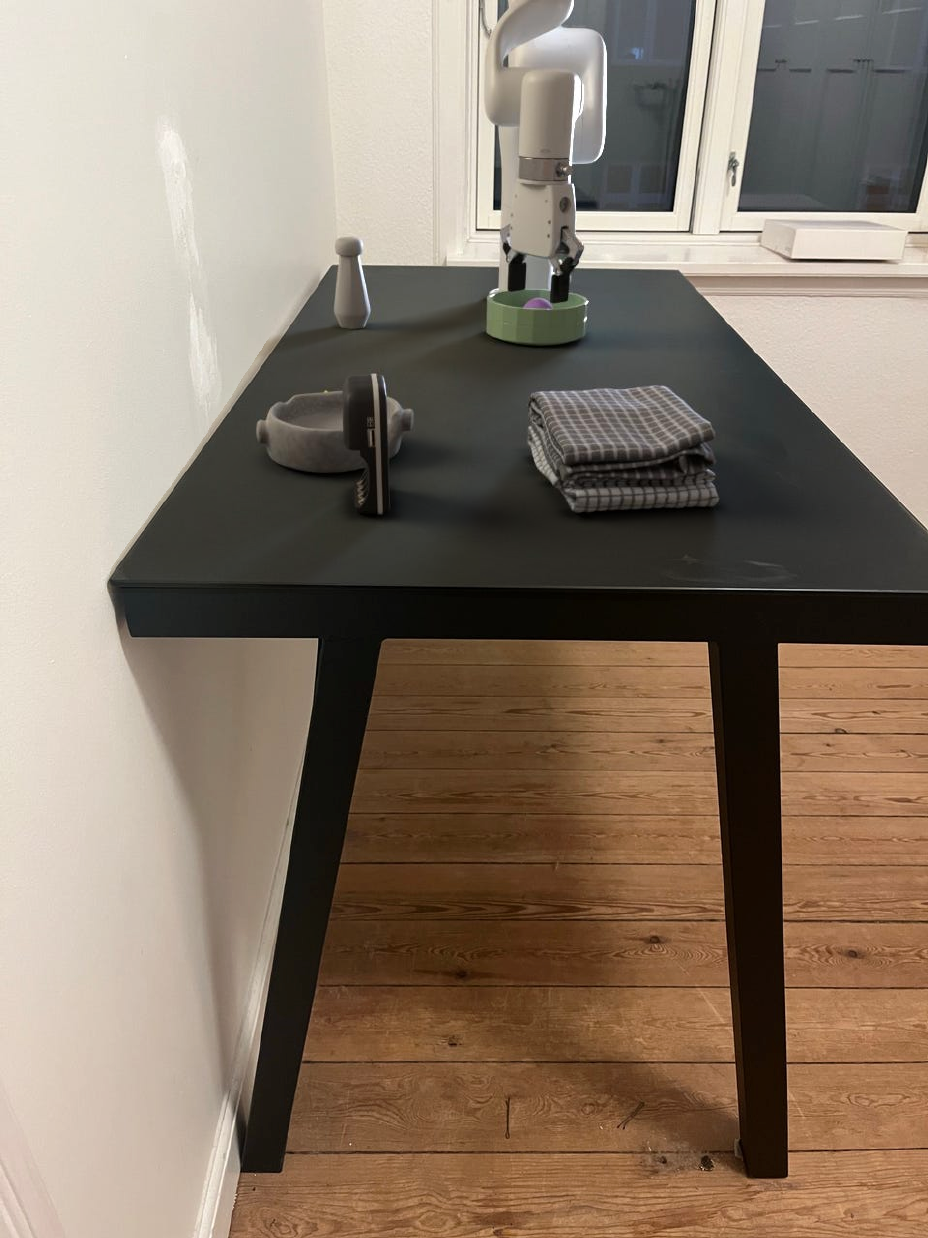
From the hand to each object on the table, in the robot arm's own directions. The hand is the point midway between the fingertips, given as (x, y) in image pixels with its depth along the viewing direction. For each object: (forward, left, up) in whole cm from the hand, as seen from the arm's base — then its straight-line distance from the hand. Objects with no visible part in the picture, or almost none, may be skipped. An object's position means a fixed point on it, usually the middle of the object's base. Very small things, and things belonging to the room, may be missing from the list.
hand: (537, 296), depth 139 cm
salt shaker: (+20, -21, -6) cm, 30 cm away
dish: (+52, +27, -6) cm, 59 cm away
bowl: (0, 0, -6) cm, 6 cm away
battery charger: (+56, +40, -6) cm, 69 cm away
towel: (+33, +49, -6) cm, 60 cm away
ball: (0, +1, -3) cm, 3 cm away
